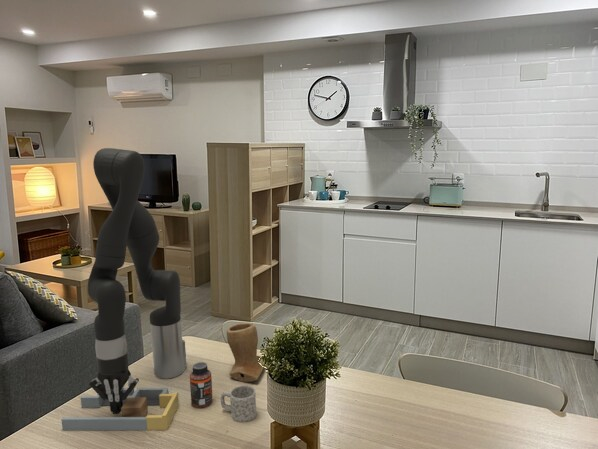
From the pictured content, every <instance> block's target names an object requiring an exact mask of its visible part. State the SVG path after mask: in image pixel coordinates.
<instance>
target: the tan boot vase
mask: <svg viewBox="0 0 598 449" xmlns="http://www.w3.org/2000/svg"><path fill="white" fill-rule="evenodd" d="M226 338H227V343H228V346H229V348H230V351H231V353H232V356H233V358H234V364H233V366H232V368H231V370H230V372H229V373H228V375H229V377H231V378H232V379H235V380H237V381H239V382H245V383H246V382H247V383H250V382H254V381H257V380H258V379H259V377H260V376H261V374H262V372H263V370H264V368H265V366H264V367H262V366H261V365H260V364H259V363H258V360H259V358H260V357H262V356H260V355H257V352H258V351H257V350H258V345H259V344H258V342H259V336H258V330H257V327H256V325H255V324H254V323H252V322H238V323H235V324H232V325H230V326H229V327H228V328H227V329H226Z"/></svg>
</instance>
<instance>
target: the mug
mask: <svg viewBox="0 0 598 449" xmlns="http://www.w3.org/2000/svg"><path fill="white" fill-rule="evenodd" d="M225 397H227V398H230V404H226V401H225ZM256 398H257V396H256V389H255V388H254V387H253V386H251V385H238V386H235V387H234V388H232V389H231V390H230V391H223V392H221V394H220V404H221V408H223V409H224V410H227V411H228V412H230V414H231V419H232V420H233V421H234V422H237V423H247V422H251V421H253V420H254V419H255V418H256V416H257V400H256Z"/></svg>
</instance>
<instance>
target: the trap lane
mask: <svg viewBox="0 0 598 449" xmlns="http://www.w3.org/2000/svg"><path fill="white" fill-rule="evenodd" d="M128 388H129V387H124V389H123V393H124V392H126V390H127V389H128ZM160 394H170V391H169V387H136V389H135V388H134V389H133V390H132V391H131V393H130V394H129V395H128V397H127V398H135V397H146V398H147V407H149V406H153V407H155V406H156V407H157V406H158V407H160V401H159V395H160ZM127 398H126V399H125V400H123V405H124V403H125V401H126V400H127ZM80 405H81V409H82V408H84V409H85V408H86V409H88V408H89V409H90V408H97V409H99V408H100V407H103V406H104V407H105V406H106V407H110V401H109V400H107V399H105V400H103V399H102V398H101V397H100V396H99V395H98V394H97V393H96V395H82V396H80ZM146 417H147V416H146ZM146 417H122V416H76V417H75V416H66V417H65V416H63V417H62V418H61V428H62V431H148V430H147V419H146Z"/></svg>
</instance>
